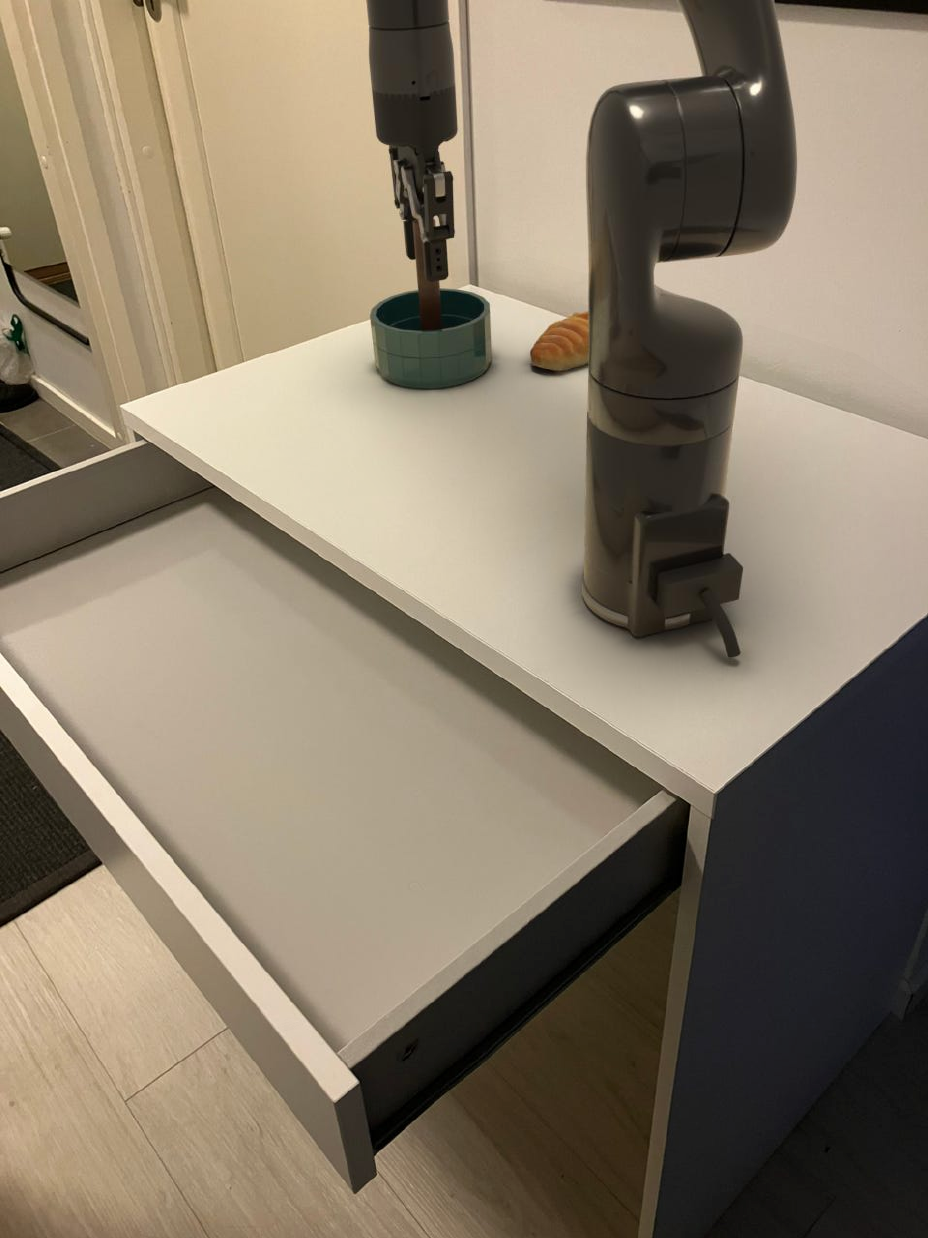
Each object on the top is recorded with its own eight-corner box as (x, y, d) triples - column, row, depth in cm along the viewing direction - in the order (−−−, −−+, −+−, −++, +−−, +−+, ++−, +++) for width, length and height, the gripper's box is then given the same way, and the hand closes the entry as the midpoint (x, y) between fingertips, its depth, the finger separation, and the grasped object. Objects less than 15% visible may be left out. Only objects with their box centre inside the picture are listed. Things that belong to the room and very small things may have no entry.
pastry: (565, 381, 102) (565, 345, 100) (513, 366, 106) (512, 331, 103) (618, 350, 108) (619, 315, 105) (566, 337, 111) (566, 302, 109)
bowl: (508, 377, 104) (506, 320, 100) (392, 398, 101) (386, 340, 98) (471, 334, 113) (468, 281, 109) (365, 353, 110) (358, 299, 107)
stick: (460, 361, 105) (452, 223, 97) (419, 369, 104) (407, 229, 96) (447, 346, 109) (439, 211, 100) (408, 353, 108) (396, 217, 99)
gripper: (354, 73, 95) (373, 253, 106) (392, 100, 84) (409, 298, 95) (431, 64, 97) (442, 242, 107) (478, 90, 86) (485, 285, 96)
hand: (427, 267), depth 101 cm, fingers open, 6 cm apart
